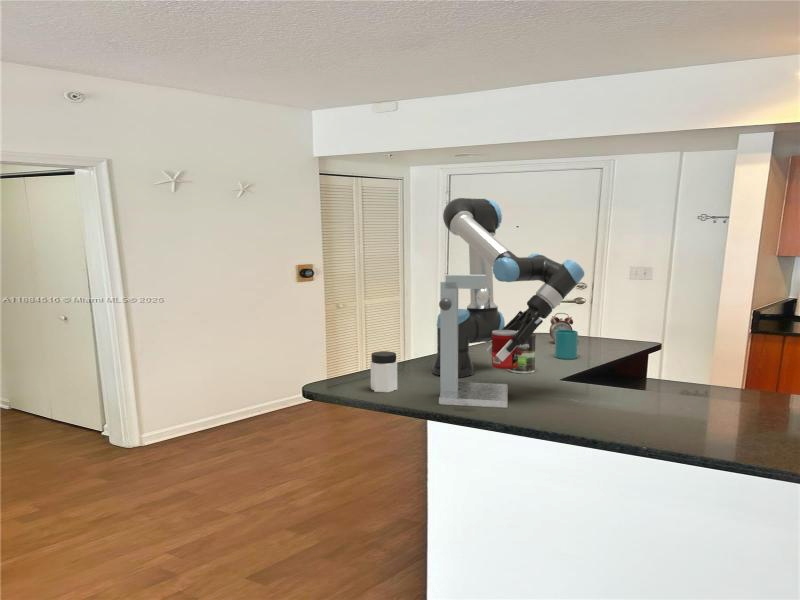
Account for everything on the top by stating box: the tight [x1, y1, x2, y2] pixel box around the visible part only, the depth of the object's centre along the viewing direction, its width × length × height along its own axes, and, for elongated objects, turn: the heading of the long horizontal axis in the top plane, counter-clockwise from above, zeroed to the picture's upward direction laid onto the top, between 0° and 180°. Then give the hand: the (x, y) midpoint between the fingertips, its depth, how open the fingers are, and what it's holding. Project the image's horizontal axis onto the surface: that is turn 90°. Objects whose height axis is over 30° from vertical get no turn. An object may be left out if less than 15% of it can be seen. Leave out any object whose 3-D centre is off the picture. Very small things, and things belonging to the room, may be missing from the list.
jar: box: [370, 350, 398, 393], centre depth 177 cm, size 9×8×12 cm
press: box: [438, 274, 509, 409], centre depth 165 cm, size 23×20×38 cm
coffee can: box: [507, 332, 537, 374], centre depth 204 cm, size 10×10×14 cm
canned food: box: [491, 330, 518, 370], centre depth 167 cm, size 8×8×11 cm
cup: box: [554, 329, 579, 360], centre depth 228 cm, size 9×12×11 cm
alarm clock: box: [548, 312, 574, 343], centre depth 260 cm, size 11×5×15 cm, turn 81°
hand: (494, 355), depth 166 cm, fingers closed on canned food, 8 cm apart
